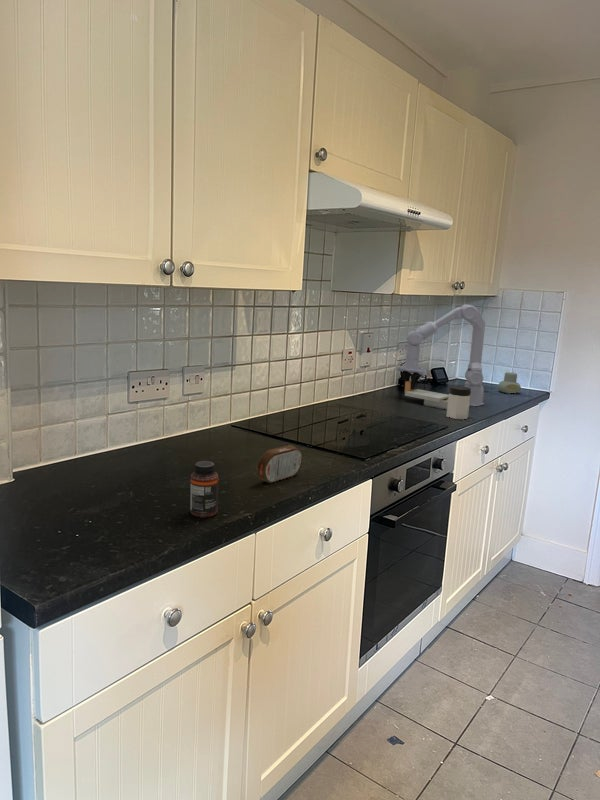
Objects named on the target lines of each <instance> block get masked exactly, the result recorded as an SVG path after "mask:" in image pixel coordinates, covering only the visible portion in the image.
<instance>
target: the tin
mask: <svg viewBox="0 0 600 800" xmlns="http://www.w3.org/2000/svg"><path fill="white" fill-rule="evenodd" d="M303 458H304V455H303V452H302V450H301V449H299V448H298V447H296V446H294V445H291V444H289V445H285V446H280V447H275V448H271V449H269V450H266V452H264V453H263V454H262V455H261V456H260V458H259V460H258V463H257V468H256V475H257V477H258V478H259V480H261V481H262V482H265V483H268V484H274V483H277V482H276V481H278V482H280V481H279V480H281V481H284V480H286V478H288V479H290V478H289V477H291V478H293V477H292V476H294V477H295V476H296V475H297V474H298V473H299V472H300V470H301V468H302V464H303ZM283 479H284V480H283ZM273 482H274V483H273Z"/></svg>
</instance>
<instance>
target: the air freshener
mask: <svg viewBox="0 0 600 800" xmlns="http://www.w3.org/2000/svg"><path fill="white" fill-rule="evenodd" d="M517 378H518V374H517V373H515V372H509V371H507V372H505V373H504V377H503V380H502V381H500V382H499V383H498V384H497V389H498V390H499V391H500V392H502V393H504V392H505V394H507V393H514V394H517V393H519V392H520V391H521V388H522V386H521V384H520V383H519V382H517V380H518V379H517Z"/></svg>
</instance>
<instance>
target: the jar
mask: <svg viewBox="0 0 600 800" xmlns="http://www.w3.org/2000/svg"><path fill="white" fill-rule="evenodd" d="M470 393H471V388H468V387H465V386H463V385H451V386H449V392H448V395H449V397H448V406H447V410H446V415H445V416H446V418H449V417H450V419H453V420H464V419H466V420H467V419H469V411H470V396H471V395H470Z"/></svg>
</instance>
